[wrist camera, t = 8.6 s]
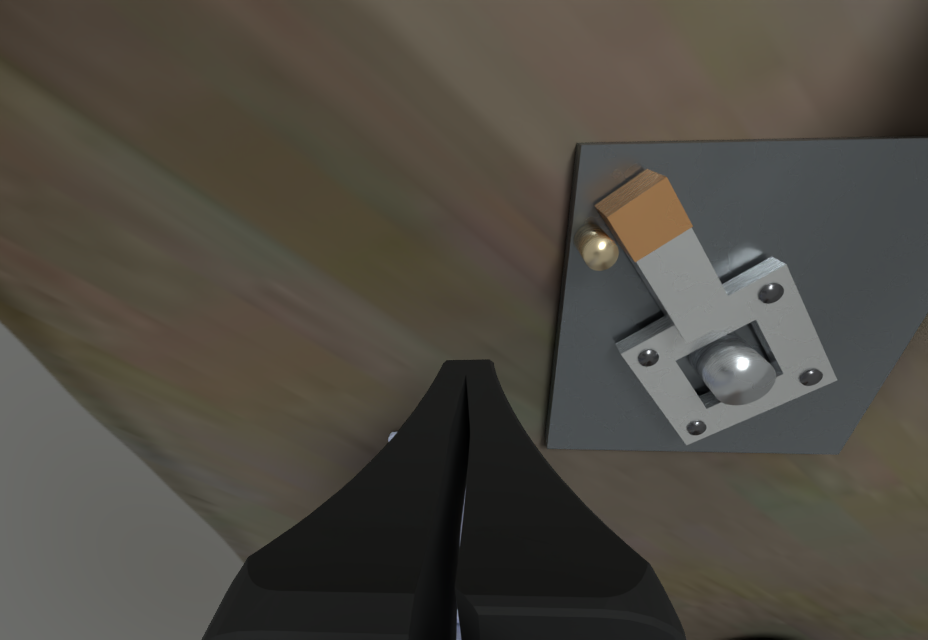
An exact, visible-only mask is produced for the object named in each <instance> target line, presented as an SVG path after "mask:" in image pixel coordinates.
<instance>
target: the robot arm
mask: <svg viewBox="0 0 928 640" xmlns="http://www.w3.org/2000/svg"><path fill="white" fill-rule="evenodd" d="M202 640H686V636H685V633H684V630H683V628H682V625H681V622H680V620H679V618H678V616H677V614H676V612H675V610H674V608H673V605H672V603H671V601H670V600H669V598H668V596H667V594H666V592H665V590H664V588H663V586H662V584H661V582H660V581H659V579H658V577H657V575H656V574H655V572H654V570H653V568H652V567H651V565H650V564H649V563H648V562H647V561H646V560H645V559H644V558H642V557H641V556H640V555H639V554H638V553H637V552H635V551H634V550H633V549H632V548H631V547H630V546H628V545H627V544H626V543H625V542H624V541H623V540H622V539H621V538H620V537H618V536H617V535H616V534H615V533H614V532H613V531H612V530H611V529H610V528H608V527H607V526H606V525H605V524H604V523H603V522H602V521H601V520H600V519H599V518H598V517H597V516H596V515H595V514H594V513H593V512H592V511H591V510H590V509H589V508H588V507H587V506H586V505H585V504H584V503H583V502H582V501H581V500H580V498H579V497H578V496H577V495H576V494H575V493H574V492H573V491H572V490H571V489H570V488H569V486H568V485H567V484H566V483H565V482H564V481H563V480H562V479H561V478H560V477H559V475H558V474H557V473H556V472H555V471H554V469H553V468H552V467H551V466H550V464H549V463H548V462H547V461H546V459H545V458H544V457H543V455H542V454H541V453H540V451H539V450H538V449H537V447H536V446H535V445H534V443H533V442H532V440H531V439H530V437H529V436H528V434H527V433H526V431H525V430H524V428H523V426H522V425H521V423H520V422H519V420H518V418H517V417H516V415H515V413H514V411H513V410H512V408H511V406H510V404H509V402H508V400H507V398H506V396H505V394H504V392H503V390H502V388H501V385H500V383H499V380H498V378H497V375H496V372H495V368H494V363H493V362H492V361H491V360H447V361H446V362H444V363H443V365H442V367H441V369H440V371H439V373H438V375H437V376H436V378H435V380H434V381H433V383H432V385H431V386H430V388H429V390H428V391H427V393H426V394H425V396H424V397H423V398H422V400H421V401H420V403H419V404H418V406H417V407H416V409H415V410H414V411H413V413H412V414H411V415H410V417H409V418H408V419H407V420H406V422H405V423H404V424H403V426H402V427H401V428H400V429H399V431H398V432H392V433H390V435H389V438H388V444H387V445H386V446H385V447H384V448H383V449H382V450H381V451H380V452H379V453H378V454H377V455H376V456H375V458H374V459H373V460H372V461H371V462H370V463H368V464H367V465H366V466H365V467H364V468H363V469H362V470H361V471H360V472H359V473H358V474H357V475H356V476H355V477H354V478H353V479H352V480H351V481H350V482H348V483H347V484H346V485H345V486H344V487H343V488H342V489H341V490H339V491H338V492H337V493H336V494H334V495H333V496H332V497H331V498H330V499H328V500H327V501H326V502H325V503H323V504H322V505H321V506H320V507H318V508H317V509H316V510H315V511H314V512H312V513H311V514H310V515H308V516H307V517H306V518H304V519H303V520H302V521H300V522H299V523H298V524H296V525H295V526H293V527H292V528H291V529H289V530H288V531H286V532H285V533H283V534H282V535H280V536H279V537H277V538H276V539H274V540H273V541H272V542H270V543H269V544H267V545H266V546H264V547H263V548H261V549H260V550H258V551H257V552H255V553H254V554H252V555H251V556H249V557H248V558H247V560H246V561H245V563H244V565H243V566H242V568H241V570H240V571H239V573H238V574H237V576H236V577H235V579H234V580H233V582H232V584H231V585H230V587H229V589H228V591H227V592H226V594H225V596H224V598H223V600H222V602H221V604H220V605H219V608H218V609H217V611H216V613H215V615H214V617H213V619H212V621H211V623H210V625H209V627H208V628H207V630H206V632H205V634H204V636H203V638H202Z"/></svg>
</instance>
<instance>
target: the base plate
mask: <svg viewBox="0 0 928 640" xmlns="http://www.w3.org/2000/svg"><path fill="white" fill-rule="evenodd" d="M646 169H649V170H651V171H654V172H656V173H659V174H661V175H664V176H666V177H667V178H668V180H669V182H670V184H671V186H672V187H673V189H674V191H675V193H676V195H677V197H678V199H679V201H680V203H681V204H682V206H683V208H684V210H685V212H686V214H687V216H688V218H689V220H690V221H691V223H692V225H693V227H692V229H693V231H694V233H695V235H696V237H697V238H698V240H699V242H700V244H701V246H702V248H703V250H704V252H705V253H706V255H707V257H708V259H709V261H710V263H711V265H712V267H713V269H714V270H715V272H716V274H717V276H718V278H719V280H720V282H721V284H723V283H725V282H727V281H729V280H731V279H732V278H734V277H736V276H738V275H740V274H741V273H743V272H745V271H747V270H749V269H750V268H752V267H754V266H756V265H758V264H759V263H761V262H763V261H765V260H767V259H768V258H770V257H774V258H775V259H777V260H779V261H781V262H783V263H785V264H786V265H787V267H788V269H789V271H790V274H791V276H792V278H793V281H794V283H795V285H796V287H797V290H798V292H799V294H800V296H801V299H802V301H803V303H804V306H805V308H806V310H807V312H808V315H809V317H810V319H811V321H812V324H813V326H814V328H815V331H816V333H817V335H818V337H819V340H820V342H821V344H822V346H823V349H824V351H825V353H826V355H827V358H828V360H829V362H830V365H831V367H832V369H833V371H834V374H835V376H836V378H837V381H835V382H832V383H830V384H828V385H825V386H823V387H821V388H819V389H816V390H814V391H812V392H809V393H807V394H805V395H802V396H800V397H798V398H795V399H793V400H791V401H788V402H786V403H784V404H781V405H779V406H777V407H774V408H772V409H770V410H767V411H765V412H763V413H761V414H758V415H756V416H754V417H751V418H749V419H747V420H744V421H742V422H740V423H737V424H735V425H733V426H730V427H728V428H726V429H723V430H721V431H719V432H716V433H714V434H712V435H709V436H707V437H705V438H703V439H700V440H698V441H696V442H693V443H691V444H689V445H686V444H685V443H684V441H683V440H682V438H681V437H680V436H679V434H678V433H677V431H676V430H675V429H674V427H673V426H672V425H671V423H670V422H669V420H668V419H667V418H666V416H665V415H664V413H663V412H662V411H661V409H660V408H659V407H658V405H657V404H656V402H655V401H654V400H653V398H652V397H651V395H650V394H649V393H648V391H647V390H646V388H645V387H644V386H643V384H642V383H641V382H640V380H639V379H638V377H637V376H636V375H635V373H634V372H633V370H632V369H631V368H630V366H629V365H628V364H627V362H626V361H625V359H624V358H623V357H622V355H621V354H620V352H619V350H618V348H617V346H616V343H617V342H619V341H621V340H623V339H625V338H626V337H628V336H630V335H632V334H633V333H635V332H637V331H639V330H641V329H642V328H644V327H646V326H648V325H650V324H651V323H653V322H655V321H657V320H659V319H660V318H662V317H664V316H665V315H664V313H663V312H662V310H661V309H660V307H659V305H658V304H657V302H656V301H655V299H654V297H653V296H652V294H651V293H650V291H649V289H648V288H647V286H646V285H645V283H644V281H643V280H642V278H641V277H640V275H639V273H638V272H637V270H636V269H635V267H634V265H633V264H632V262H631V261H630V259H629V258H628V256H627V254H626V253H625V251H624V250H623V249H622V248H621V247H620V246H619V244H618V242H617V241H616V239H615V238H614V236H613V234H612V233H611V231H610V230H609V228H608V226H607V225H606V223H605V222H604V220H603V219H602V217H601V215H600V214H599V212H598V211H597V209H596V207H595V206H594V205H596V204H597V203H599V202H600V201H601V200H603V199H604V198H606V197H607V196H609V195H610V194H611V193H613V192H614V191H616V190H617V189H618V188H620V187H621V186H623V185H624V184H626V183H627V182H628V181H630V180H631V179H633V178H634V177H636V176H637V175H638V174H640V173H641V172H643V171H644V170H646ZM927 313H928V136H895V137H845V138H795V139H745V140H696V141H646V142H596V143H577V145H576V154H575V164H574V173H573V182H572V191H571V201H570V210H569V219H568V228H567V238H566V247H565V256H564V265H563V275H562V284H561V293H560V302H559V312H558V321H557V330H556V339H555V349H554V358H553V367H552V377H551V386H550V395H549V404H548V414H547V423H546V432H545V440H546V446H547V449H592V450H642V451H692V452H742V453H792V454H839V453H840V451H841V450H842V448H843V446H844V445H845V443H846V442H847V440H848V439H849V437H850V435H851V434H852V432H853V431H854V429H855V427H856V426H857V424H858V423H859V421H860V419H861V418H862V416H863V415H864V413H865V412H866V410H867V408H868V407H869V405H870V404H871V402H872V400H873V399H874V397H875V396H876V394H877V392H878V391H879V389H880V388H881V386H882V385H883V383H884V381H885V380H886V378H887V377H888V375H889V373H890V372H891V370H892V369H893V367H894V365H895V364H896V362H897V361H898V359H899V358H900V356H901V354H902V353H903V351H904V350H905V348H906V346H907V345H908V343H909V342H910V340H911V338H912V337H913V335H914V334H915V332H916V331H917V329H918V327H919V326H920V324H921V323H922V321H923V319H924V318H925V316H926V315H927ZM676 363H677V364H678V366H679V367H680V369H681V370H682V372H683V373H684V375H685V376H686V378H687V380H688V381H689V383H690V384H691V386H692V387H693V389H694V390H695V392H696V393H697V395H698V396H701V395H703V394H705V393H707V392H709V391H711V392H712V393H713V394H714V395H715V397H716V398H717V399H718V400H719V401H721V402H722V403H724V404H728V405H744V404H748V403H751V402H754V401H756V400H758V399H760V398H762V397H763V396H764V395H766V394H767V393H768V392H769V391H770V390H771V388H772V387H773V385H774V383H775V380H776V372H775V369H774V368H773V366H772V365H771V364H770V363H771V361H770V359H769V358H768V356H767V354H766V352H765V350H764V348H763V346H762V344H761V342H760V340H759V338H758V336H757V334H756V333H755V331H754V329H753V327H752V325H751V323H748V324H746V325H744V326H742V327H741V328H739V329H737V330H735V331H733V332H731V333H729V334H727V335H725V336H723V337H721V338H719V339H717V340H715V341H713V342H711V343H709V344H707V345H705V346H703V347H701V348H699V349H697V350H695V351H694V352H692V353H690V354H688V355H686V356H684V357H682V358H680V359H678V360H676Z"/></svg>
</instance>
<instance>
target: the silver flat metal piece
mask: <svg viewBox="0 0 928 640" xmlns="http://www.w3.org/2000/svg"><path fill="white" fill-rule="evenodd" d="M594 206H595V207H596V209H597V211H598V212H599V214H600V215H601V217H602V219H603V220H604V222H605V223H606V225H607V226H608V228H609V230H610V231H611V233H612V234H613V236H614V238H615V239H616V241H617V242H618V244H619V246H620V247H621V248H622V249H623V250H624V251H625V253H626V254H627V256H628V258H629V259H630V261H631V262H632V264H633V265H634V267H635V269H636V270H637V272H638V273H639V275H640V277H641V278H642V280H643V281H644V283H645V285H646V286H647V288H648V289H649V291H650V293H651V294H652V296H653V297H654V299H655V301H656V302H657V304H658V305H659V307H660V309H661V310H662V312H663V313H664V315H665V316H664V317H662V318H660V319H659V320H657V321H655V322H653V323H651V324H650V325H648V326H646V327H644V328H642V329H641V330H639V331H637V332H635V333H633V334H632V335H630V336H628V337H626V338H625V339H623V340H621V341H619V342H617V343H616V346H617V348H618V350H619V352H620V354H621V355H622V357H623V358H624V359H625V361H626V362H627V364H628V365H629V366H630V368H631V369H632V370H633V372H634V373H635V375H636V376H637V377H638V379H639V380H640V382H641V383H642V384H643V386H644V387H645V388H646V390H647V391H648V393H649V394H650V395H651V397H652V398H653V400H654V401H655V402H656V404H657V405H658V407H659V408H660V409H661V411H662V412H663V413H664V415H665V416H666V418H667V419H668V420H669V422H670V423H671V425H672V426H673V427H674V429H675V430H676V431H677V433H678V434H679V436H680V437H681V438H682V440H683V441H684V443H685V444H686V445H689V444H691V443H693V442H696V441H698V440H700V439H703V438H705V437H707V436H709V435H712V434H714V433H716V432H719V431H721V430H723V429H726V428H728V427H730V426H733V425H735V424H737V423H740V422H742V421H744V420H747V419H749V418H751V417H754V416H756V415H758V414H761V413H763V412H765V411H767V410H770V409H772V408H774V407H777V406H779V405H781V404H784V403H786V402H788V401H791V400H793V399H795V398H798V397H800V396H802V395H805V394H807V393H809V392H812V391H814V390H816V389H819V388H821V387H823V386H825V385H828V384H830V383H832V382H835V381H837V378H836V376H835V374H834V371H833V369H832V367H831V365H830V362H829V360H828V358H827V355H826V353H825V351H824V349H823V346H822V344H821V342H820V340H819V337H818V335H817V333H816V331H815V328H814V326H813V324H812V321H811V319H810V317H809V315H808V312H807V310H806V308H805V306H804V303H803V301H802V299H801V296H800V294H799V292H798V290H797V287H796V285H795V283H794V281H793V278H792V276H791V274H790V271H789V269H788V267H787V265H786V264H785V263H783V262H781V261H779V260H777V259H775V258H774V257H770V258H768V259H767V260H765V261H763V262H761V263H759V264H758V265H756V266H754V267H752V268H750V269H749V270H747V271H745V272H743V273H741V274H740V275H738V276H736V277H734V278H732V279H731V280H729V281H727V282H725V283H723V284H721V282H720V280H719V278H718V276H717V274H716V272H715V270H714V269H713V267H712V265H711V263H710V261H709V259H708V257H707V255H706V253H705V252H704V250H703V248H702V246H701V244H700V242H699V240H698V238H697V237H696V235H695V233H694V231H693V229H692V227H693V225H692V223H691V221H690V220H689V218H688V216H687V214H686V212H685V210H684V208H683V206H682V204H681V203H680V201H679V199H678V197H677V195H676V193H675V191H674V189H673V187H672V186H671V184H670V182H669V180H668V178H667V177H666V176H664V175H661V174H659V173H656V172H654V171H651V170H649V169H646V170H644V171H643V172H641V173H640V174H638V175H637V176H636V177H634V178H633V179H631V180H630V181H628V182H627V183H626V184H624V185H623V186H621V187H620V188H618V189H617V190H616V191H614V192H613V193H611V194H610V195H609V196H607V197H606V198H604V199H603V200H601V201H600V202H599V203H597V204H596V205H594ZM748 323H751V325H752V327H753V329H754V331H755V333H756V334H757V336H758V338H759V340H760V342H761V344H762V346H763V348H764V350H765V352H766V354H767V356H768V358H769V359H770V361H771V363H770V364H771V365H772V366H773V368H774V369H775V372H776V380H775V383H774V385H773V387H772V388H771V390H770V391H769V392H768V393H767V394H766V395H764V396H763V397H762V398H760V399H758V400H756V401H754V402H751V403H748V404H744V405H728V404H724V403H722V402H721V401H719V400H718V399H717V398H716V397H715V395H714V394H713V393H712V392H711V391H709V392H707V393H705V394H703V395H701V396H698V395H697V393H696V392H695V390H694V389H693V387H692V386H691V384H690V383H689V381H688V380H687V378H686V376H685V375H684V373H683V372H682V370H681V369H680V367H679V366H678V364H677V363H676V360H678V359H680V358H682V357H684V356H686V355H688V354H690V353H692V352H694V351H695V350H697V349H699V348H701V347H703V346H705V345H707V344H709V343H711V342H713V341H715V340H717V339H719V338H721V337H723V336H725V335H727V334H729V333H731V332H733V331H735V330H737V329H739V328H741V327H742V326H744V325H746V324H748Z"/></svg>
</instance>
